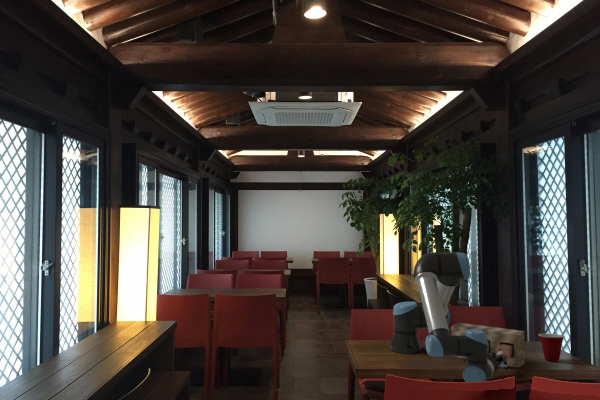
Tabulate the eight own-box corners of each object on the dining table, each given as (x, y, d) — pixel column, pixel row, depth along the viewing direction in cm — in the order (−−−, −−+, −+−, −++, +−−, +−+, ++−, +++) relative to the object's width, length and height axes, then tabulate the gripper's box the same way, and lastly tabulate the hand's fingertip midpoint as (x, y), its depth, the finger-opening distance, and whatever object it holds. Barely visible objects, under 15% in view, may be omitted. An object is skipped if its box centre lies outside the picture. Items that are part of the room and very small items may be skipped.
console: (451, 356, 222) (451, 326, 223) (459, 351, 230) (458, 322, 231) (519, 367, 204) (518, 335, 204) (524, 362, 212) (524, 331, 213)
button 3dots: (496, 357, 203) (496, 346, 203) (501, 353, 210) (501, 342, 210) (508, 359, 200) (508, 347, 200) (513, 355, 207) (513, 344, 207)
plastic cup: (560, 358, 219) (559, 332, 220) (568, 364, 209) (568, 337, 209) (535, 356, 221) (534, 331, 222) (542, 363, 211) (541, 336, 212)
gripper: (468, 373, 185) (486, 360, 203) (502, 380, 177) (518, 366, 195) (467, 354, 185) (486, 343, 204) (502, 360, 177) (518, 348, 196)
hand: (501, 354), depth 199 cm, fingers closed
